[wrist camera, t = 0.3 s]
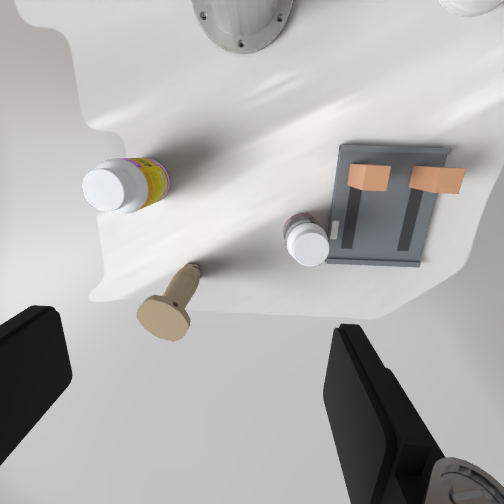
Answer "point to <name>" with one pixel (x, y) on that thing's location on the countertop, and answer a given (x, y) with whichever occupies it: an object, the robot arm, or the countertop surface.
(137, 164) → the supplement bottle
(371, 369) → the robot arm
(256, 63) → the countertop surface
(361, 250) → the grey tray
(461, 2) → the jar
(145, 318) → the handle
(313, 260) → the pill bottle
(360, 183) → the orange rectangular block
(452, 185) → the tab
